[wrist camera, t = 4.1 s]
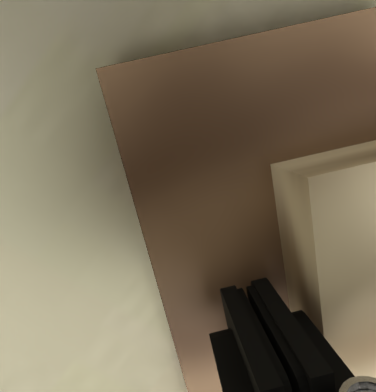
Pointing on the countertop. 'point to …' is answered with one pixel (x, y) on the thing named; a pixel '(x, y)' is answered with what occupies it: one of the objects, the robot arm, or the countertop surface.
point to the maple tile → (332, 246)
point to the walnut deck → (232, 156)
